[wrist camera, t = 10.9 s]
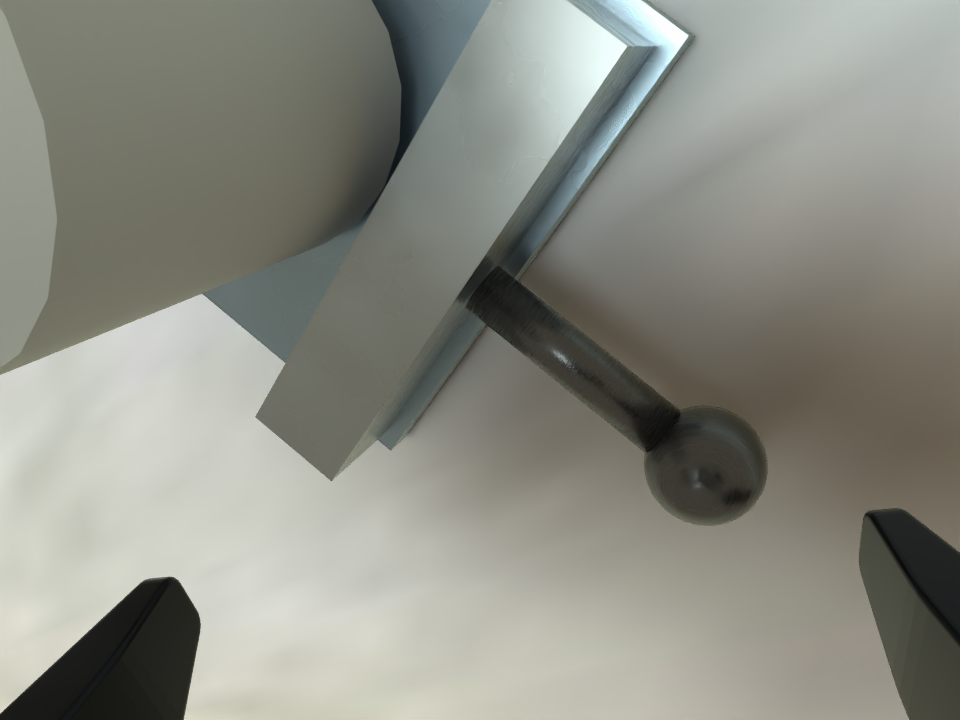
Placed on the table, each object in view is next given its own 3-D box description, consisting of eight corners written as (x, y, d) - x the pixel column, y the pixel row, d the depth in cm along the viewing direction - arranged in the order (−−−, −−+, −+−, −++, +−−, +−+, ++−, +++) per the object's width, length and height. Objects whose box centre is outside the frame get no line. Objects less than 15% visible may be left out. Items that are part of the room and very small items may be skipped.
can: (339, 298, 21) (-119, 542, 11) (130, 137, 22) (-490, 219, 11) (475, 41, 17) (-22, 32, 7) (217, -143, 18) (-580, -398, 8)
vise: (978, 249, 16) (1080, 370, 10) (602, 597, 23) (524, 799, 16) (162, -364, 18) (-173, -575, 12) (28, 122, 24) (-231, 147, 18)
